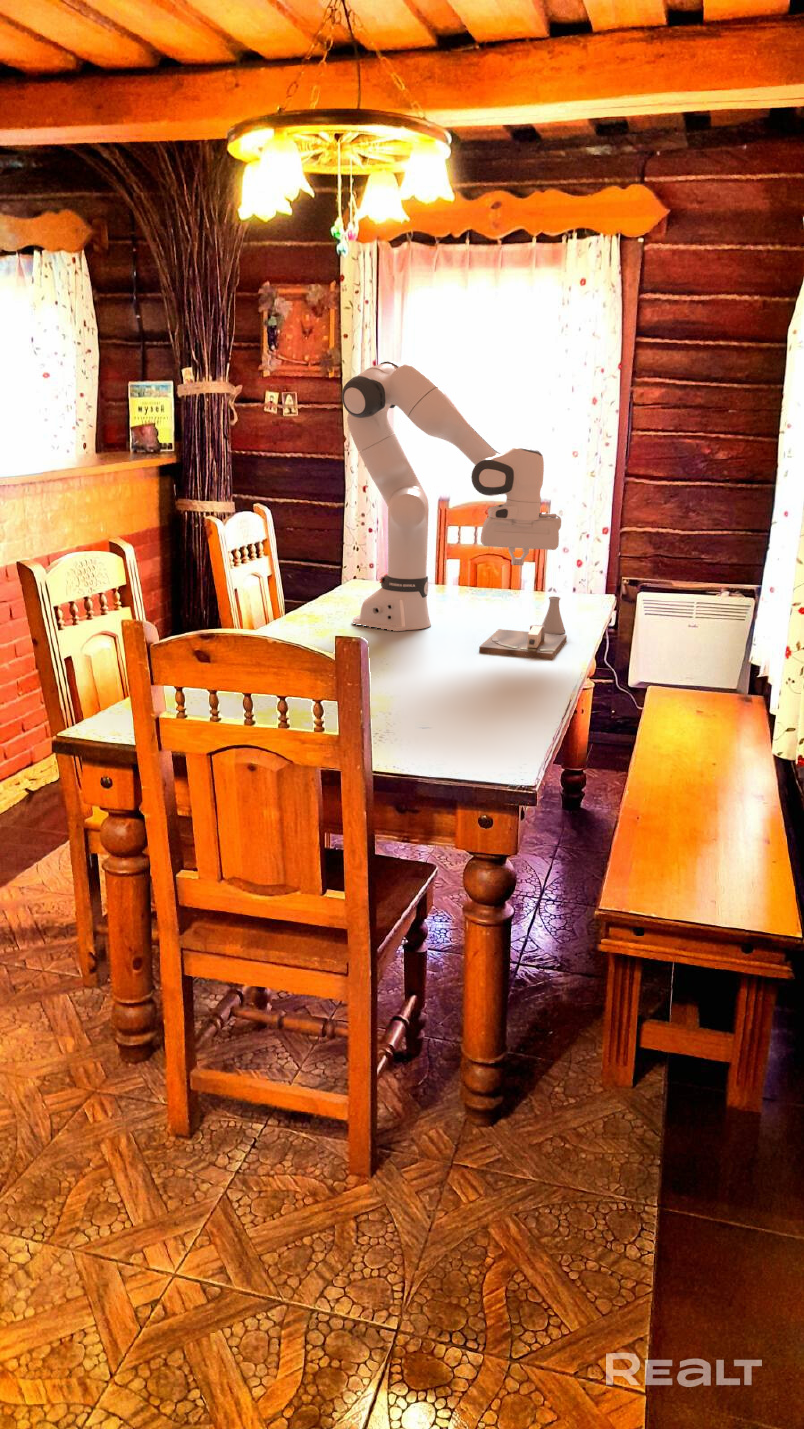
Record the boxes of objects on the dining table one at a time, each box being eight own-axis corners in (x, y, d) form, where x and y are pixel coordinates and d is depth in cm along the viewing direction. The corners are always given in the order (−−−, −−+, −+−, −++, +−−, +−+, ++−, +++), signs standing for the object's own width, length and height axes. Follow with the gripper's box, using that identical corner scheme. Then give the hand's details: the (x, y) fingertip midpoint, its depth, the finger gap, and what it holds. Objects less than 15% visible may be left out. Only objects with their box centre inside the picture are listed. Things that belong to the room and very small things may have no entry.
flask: (564, 635, 290) (567, 600, 287) (538, 634, 291) (540, 599, 288) (565, 630, 297) (568, 595, 294) (540, 628, 298) (542, 594, 295)
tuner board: (479, 652, 270) (479, 645, 269) (498, 634, 290) (498, 628, 289) (552, 659, 264) (553, 653, 264) (567, 640, 284) (568, 634, 284)
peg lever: (530, 637, 280) (531, 624, 279) (545, 638, 279) (546, 625, 278) (523, 648, 267) (524, 635, 266) (538, 650, 266) (539, 636, 265)
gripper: (559, 512, 272) (553, 565, 276) (482, 507, 270) (477, 560, 275) (564, 515, 266) (558, 569, 270) (485, 510, 264) (480, 564, 269)
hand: (517, 564), depth 272 cm, fingers closed
